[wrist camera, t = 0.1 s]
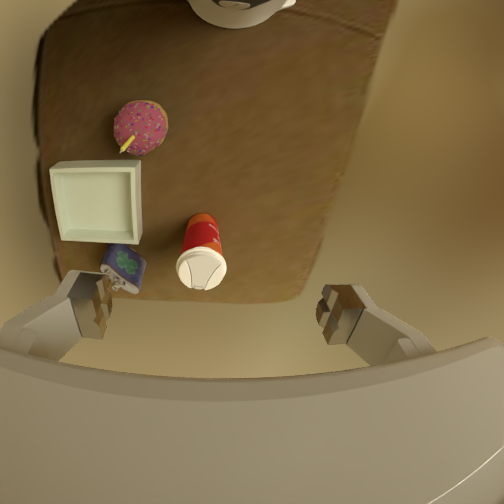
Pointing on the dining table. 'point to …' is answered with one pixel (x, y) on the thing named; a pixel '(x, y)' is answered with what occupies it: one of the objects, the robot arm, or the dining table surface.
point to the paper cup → (201, 254)
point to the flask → (123, 267)
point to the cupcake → (140, 127)
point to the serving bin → (98, 200)
